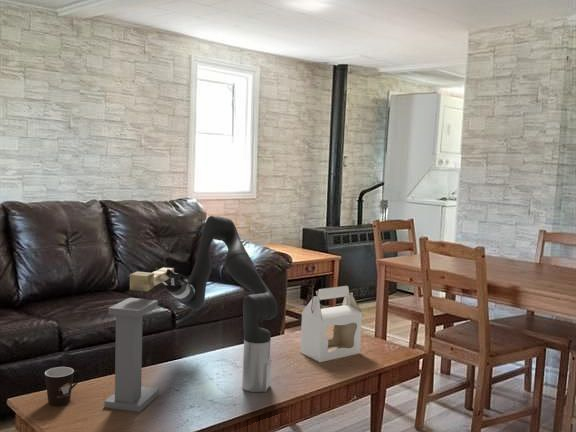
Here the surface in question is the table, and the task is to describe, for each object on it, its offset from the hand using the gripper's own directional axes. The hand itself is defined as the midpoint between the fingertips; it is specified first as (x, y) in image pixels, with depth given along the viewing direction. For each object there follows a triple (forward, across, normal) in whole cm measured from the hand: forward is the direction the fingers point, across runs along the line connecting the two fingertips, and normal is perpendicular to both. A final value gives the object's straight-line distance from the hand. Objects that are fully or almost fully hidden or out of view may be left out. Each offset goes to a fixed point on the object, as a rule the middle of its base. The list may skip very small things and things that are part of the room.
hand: (161, 271), depth 205 cm
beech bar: (+3, 0, +5) cm, 6 cm away
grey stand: (-1, 0, +44) cm, 44 cm away
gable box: (-61, +55, +10) cm, 83 cm away
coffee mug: (+5, -20, +48) cm, 52 cm away
